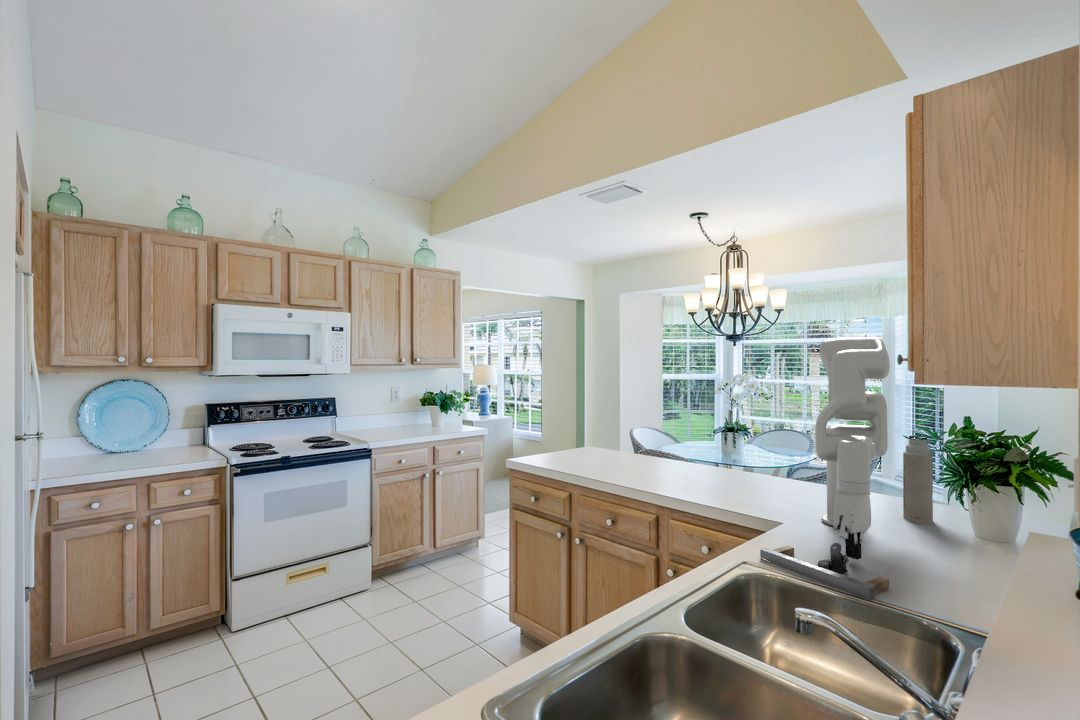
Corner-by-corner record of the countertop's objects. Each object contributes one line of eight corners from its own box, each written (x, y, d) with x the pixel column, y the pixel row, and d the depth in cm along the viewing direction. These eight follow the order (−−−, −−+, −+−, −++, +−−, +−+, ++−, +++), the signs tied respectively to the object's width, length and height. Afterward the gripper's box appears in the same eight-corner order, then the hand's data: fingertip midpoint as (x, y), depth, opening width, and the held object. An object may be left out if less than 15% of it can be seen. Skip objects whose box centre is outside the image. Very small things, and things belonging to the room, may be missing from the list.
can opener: (848, 581, 129) (848, 558, 129) (815, 574, 132) (815, 552, 132) (853, 558, 143) (853, 537, 143) (824, 553, 147) (824, 532, 147)
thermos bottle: (899, 520, 176) (899, 435, 176) (907, 515, 181) (907, 433, 181) (928, 525, 170) (928, 438, 170) (936, 521, 175) (935, 436, 175)
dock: (784, 553, 146) (784, 542, 146) (893, 591, 122) (893, 578, 122) (760, 560, 141) (760, 549, 141) (869, 601, 117) (869, 588, 117)
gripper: (854, 481, 145) (854, 548, 145) (822, 487, 138) (822, 558, 138) (883, 486, 139) (884, 556, 139) (851, 493, 131) (852, 568, 131)
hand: (853, 557), depth 138 cm, fingers closed
